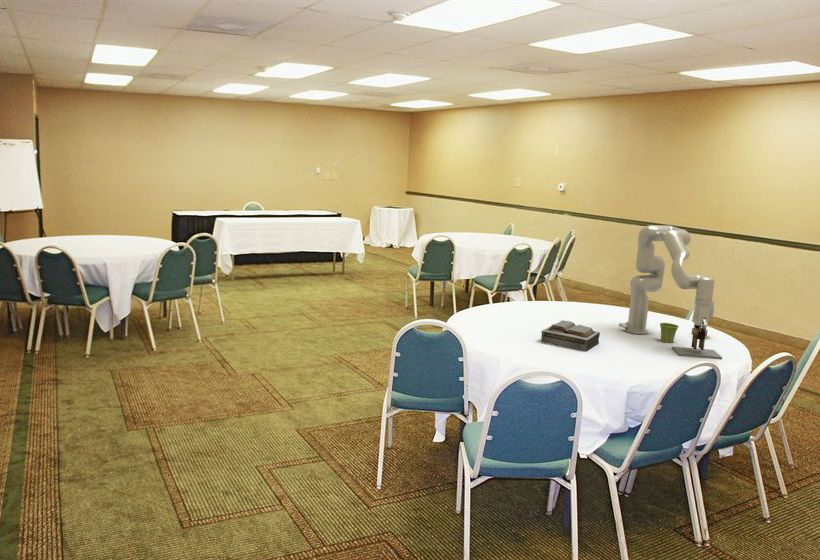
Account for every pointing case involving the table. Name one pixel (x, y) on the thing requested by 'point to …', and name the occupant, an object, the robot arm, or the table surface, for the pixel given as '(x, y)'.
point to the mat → (696, 352)
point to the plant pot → (668, 331)
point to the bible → (571, 336)
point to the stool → (695, 338)
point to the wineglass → (710, 313)
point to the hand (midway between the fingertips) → (698, 337)
